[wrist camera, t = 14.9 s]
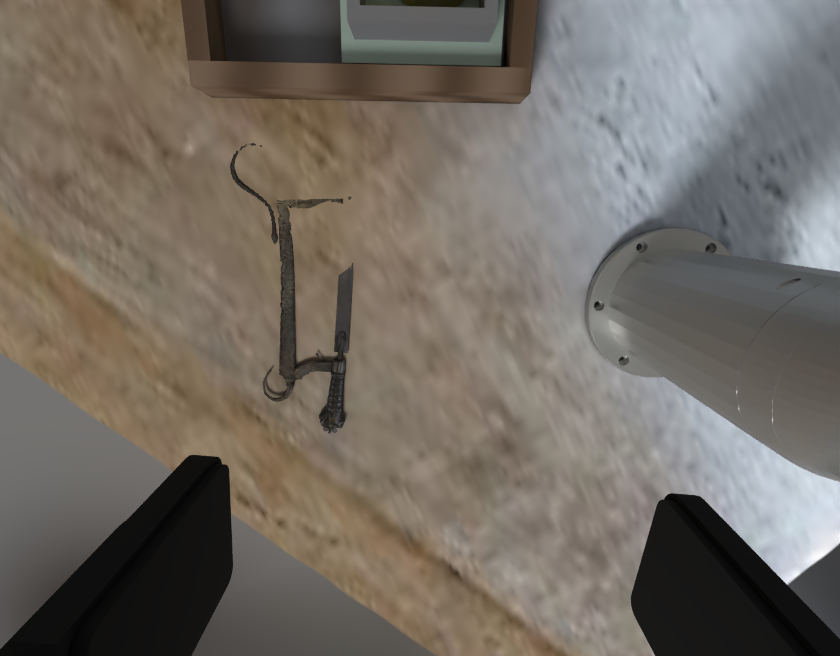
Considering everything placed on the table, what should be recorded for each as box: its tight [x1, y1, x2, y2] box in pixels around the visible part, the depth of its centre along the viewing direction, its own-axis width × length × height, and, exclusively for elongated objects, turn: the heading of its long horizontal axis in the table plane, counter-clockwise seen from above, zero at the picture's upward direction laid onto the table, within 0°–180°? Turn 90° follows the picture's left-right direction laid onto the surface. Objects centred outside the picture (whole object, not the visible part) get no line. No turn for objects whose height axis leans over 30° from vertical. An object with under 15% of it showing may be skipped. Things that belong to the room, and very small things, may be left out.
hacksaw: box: [230, 143, 354, 433], centre depth 35 cm, size 24×10×2 cm, turn 174°
